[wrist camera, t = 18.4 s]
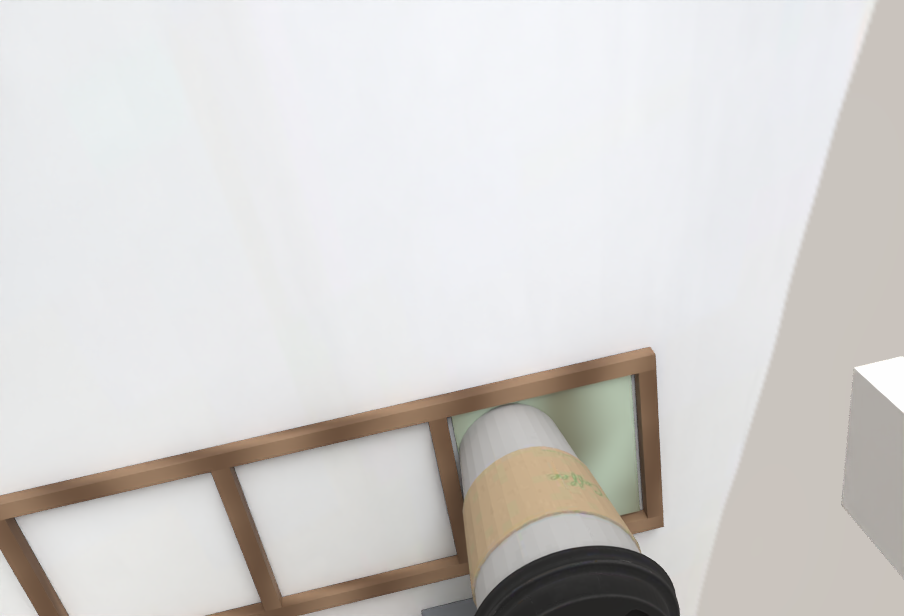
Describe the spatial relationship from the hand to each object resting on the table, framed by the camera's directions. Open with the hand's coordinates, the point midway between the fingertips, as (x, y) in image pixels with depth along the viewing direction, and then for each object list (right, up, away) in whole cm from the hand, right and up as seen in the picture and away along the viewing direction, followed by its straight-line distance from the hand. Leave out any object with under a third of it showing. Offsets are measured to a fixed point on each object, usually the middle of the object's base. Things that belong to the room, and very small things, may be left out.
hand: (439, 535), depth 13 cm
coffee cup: (+3, -4, +36) cm, 36 cm away
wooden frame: (-6, -8, +36) cm, 38 cm away
